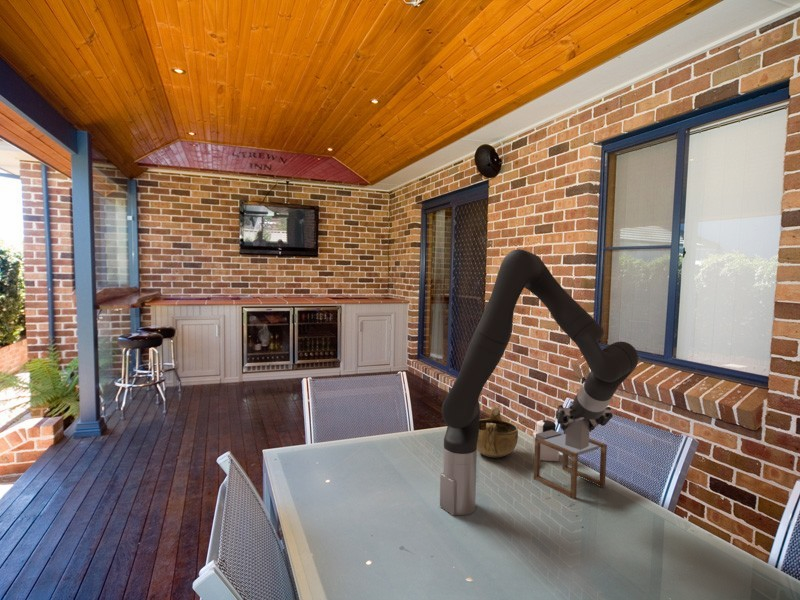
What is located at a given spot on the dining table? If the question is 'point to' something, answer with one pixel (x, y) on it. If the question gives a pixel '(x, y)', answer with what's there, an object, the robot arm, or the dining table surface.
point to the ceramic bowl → (496, 435)
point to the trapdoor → (563, 441)
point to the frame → (565, 467)
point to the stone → (578, 434)
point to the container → (545, 451)
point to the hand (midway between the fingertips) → (575, 428)
